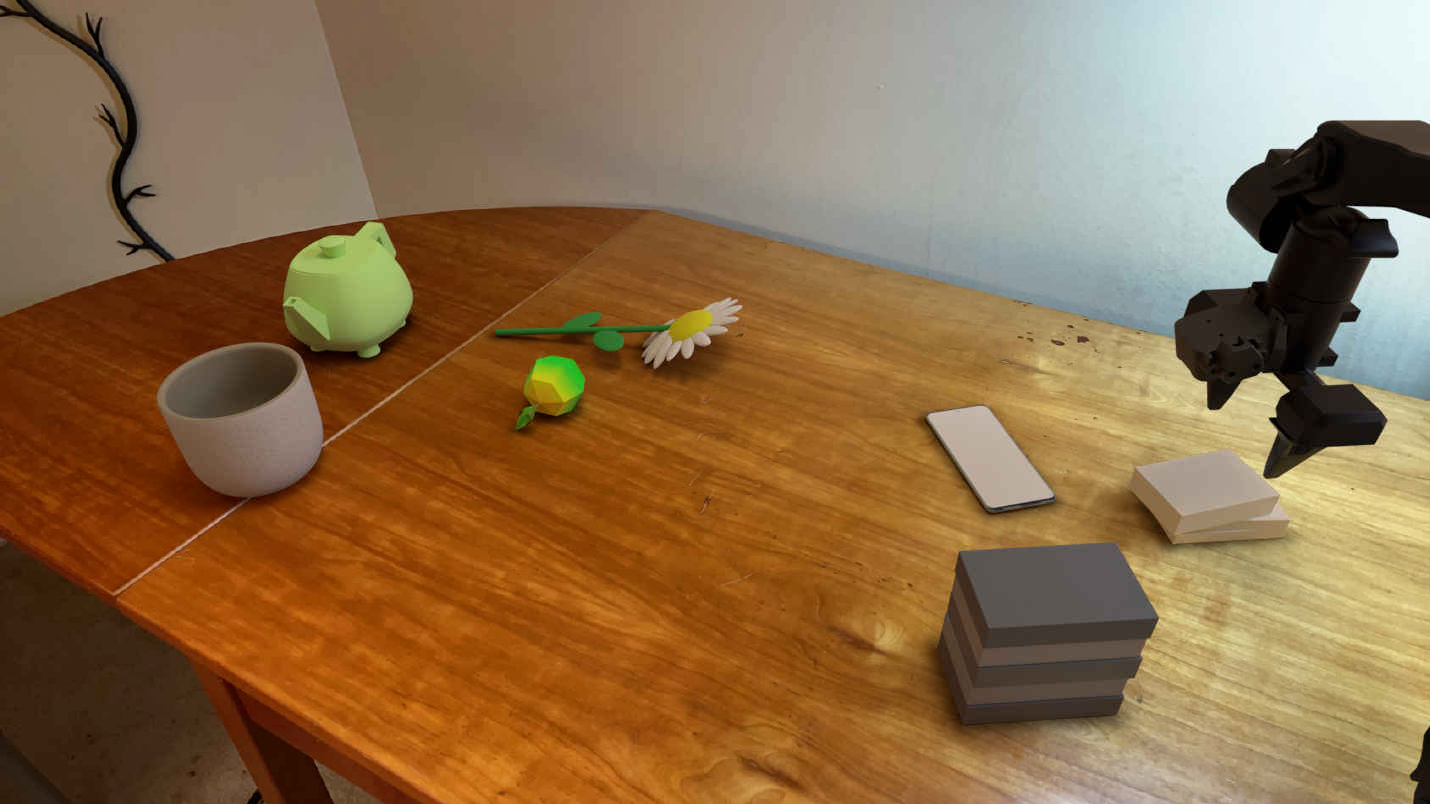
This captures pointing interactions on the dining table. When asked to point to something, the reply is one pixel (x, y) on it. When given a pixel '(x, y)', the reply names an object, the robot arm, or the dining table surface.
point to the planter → (244, 418)
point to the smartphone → (990, 459)
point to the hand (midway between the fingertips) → (1240, 441)
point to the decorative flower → (663, 339)
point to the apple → (551, 388)
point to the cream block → (1202, 491)
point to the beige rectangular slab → (1238, 529)
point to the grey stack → (1043, 632)
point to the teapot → (347, 292)
